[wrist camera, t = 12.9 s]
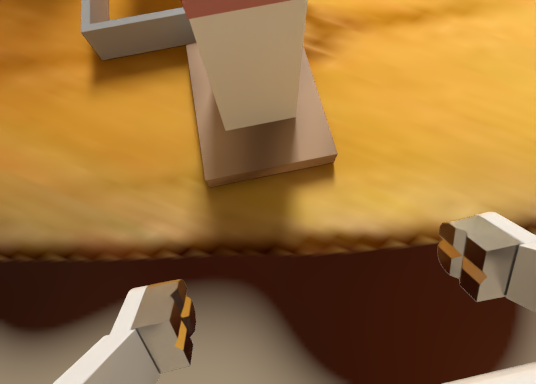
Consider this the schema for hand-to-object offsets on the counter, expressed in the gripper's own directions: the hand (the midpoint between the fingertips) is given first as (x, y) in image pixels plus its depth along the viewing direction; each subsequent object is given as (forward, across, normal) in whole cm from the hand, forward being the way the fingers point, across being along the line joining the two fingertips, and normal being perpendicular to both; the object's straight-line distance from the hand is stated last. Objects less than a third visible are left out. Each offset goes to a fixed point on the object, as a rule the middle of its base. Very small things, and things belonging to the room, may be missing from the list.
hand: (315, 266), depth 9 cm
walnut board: (+14, 0, -3) cm, 14 cm away
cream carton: (+13, 0, -4) cm, 13 cm away
